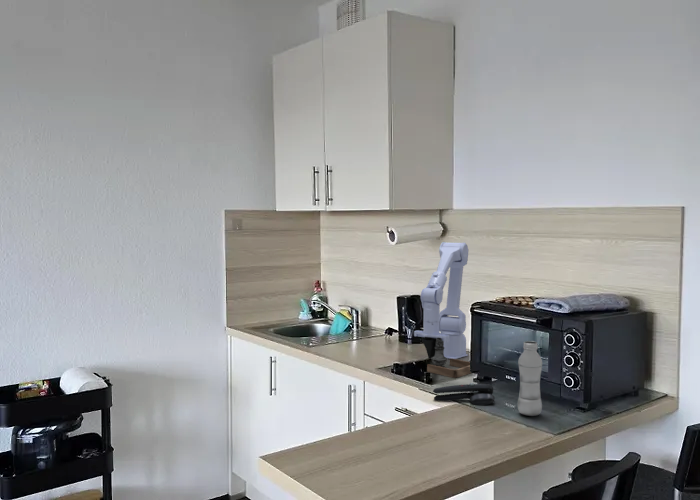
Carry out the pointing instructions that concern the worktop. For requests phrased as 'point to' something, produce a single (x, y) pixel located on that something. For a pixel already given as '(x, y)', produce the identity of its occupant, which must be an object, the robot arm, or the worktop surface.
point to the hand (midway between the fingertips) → (431, 358)
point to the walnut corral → (463, 369)
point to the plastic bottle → (530, 380)
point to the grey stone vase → (439, 354)
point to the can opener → (476, 398)
